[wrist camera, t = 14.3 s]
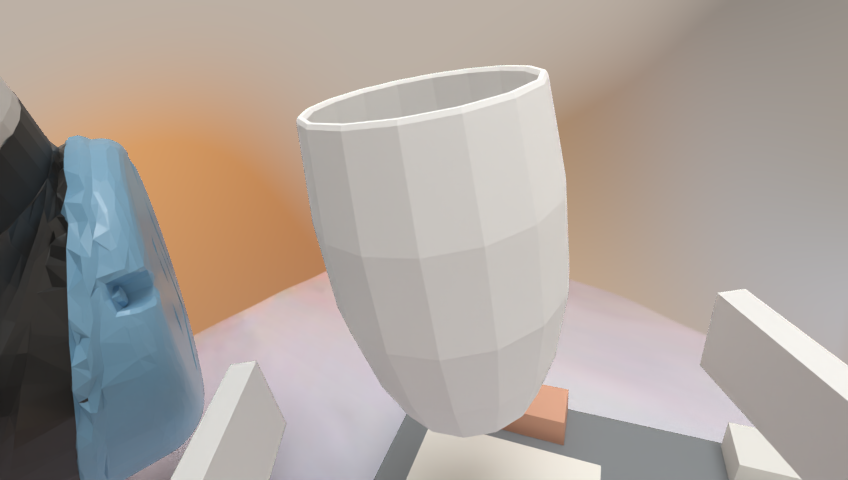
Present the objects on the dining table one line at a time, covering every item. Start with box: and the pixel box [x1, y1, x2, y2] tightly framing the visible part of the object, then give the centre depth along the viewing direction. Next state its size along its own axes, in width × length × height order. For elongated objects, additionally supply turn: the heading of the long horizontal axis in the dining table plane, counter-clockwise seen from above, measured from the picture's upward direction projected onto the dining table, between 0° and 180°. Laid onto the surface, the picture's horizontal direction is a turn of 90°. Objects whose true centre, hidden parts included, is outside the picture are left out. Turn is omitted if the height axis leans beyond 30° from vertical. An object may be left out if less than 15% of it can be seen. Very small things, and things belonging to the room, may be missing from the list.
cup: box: [296, 65, 569, 438], centre depth 15 cm, size 7×7×21 cm
